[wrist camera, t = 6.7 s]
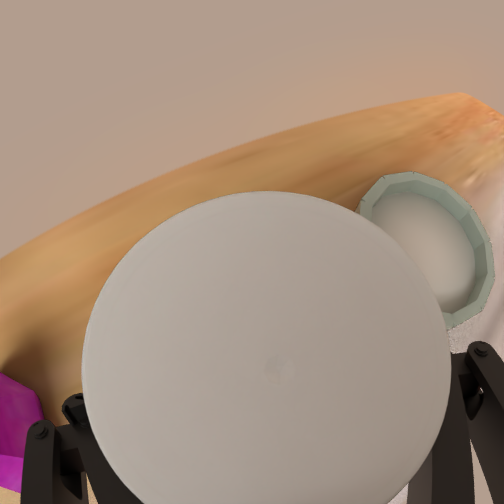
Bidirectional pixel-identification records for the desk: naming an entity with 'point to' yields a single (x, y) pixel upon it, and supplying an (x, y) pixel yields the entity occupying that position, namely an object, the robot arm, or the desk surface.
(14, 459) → the magenta faceted rounded piece
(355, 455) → the supplement tub
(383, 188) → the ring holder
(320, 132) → the desk surface
